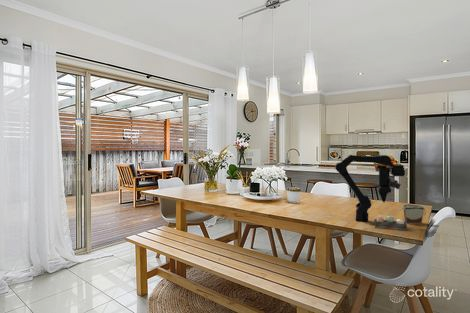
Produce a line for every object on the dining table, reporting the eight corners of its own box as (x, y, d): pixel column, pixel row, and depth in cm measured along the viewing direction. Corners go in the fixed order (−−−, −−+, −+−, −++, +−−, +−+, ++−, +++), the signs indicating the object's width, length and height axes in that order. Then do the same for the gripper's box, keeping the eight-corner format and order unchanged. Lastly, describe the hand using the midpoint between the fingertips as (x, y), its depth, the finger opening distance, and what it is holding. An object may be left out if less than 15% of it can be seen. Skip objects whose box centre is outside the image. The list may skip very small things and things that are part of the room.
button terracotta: (376, 224, 157) (376, 218, 157) (376, 222, 161) (376, 217, 161) (384, 225, 156) (384, 219, 156) (383, 223, 159) (383, 217, 159)
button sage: (386, 222, 155) (386, 216, 155) (385, 220, 159) (386, 215, 159) (394, 223, 154) (394, 217, 154) (393, 221, 157) (393, 216, 157)
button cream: (396, 226, 153) (396, 220, 153) (395, 224, 157) (395, 218, 157) (404, 227, 152) (404, 221, 152) (403, 225, 155) (403, 219, 155)
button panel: (375, 227, 155) (375, 222, 155) (374, 223, 164) (374, 218, 163) (407, 230, 149) (407, 225, 149) (404, 226, 157) (404, 221, 157)
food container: (417, 220, 170) (417, 204, 170) (424, 223, 164) (424, 206, 164) (397, 220, 170) (397, 204, 169) (403, 223, 164) (404, 206, 163)
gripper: (401, 178, 154) (401, 206, 155) (398, 175, 171) (397, 200, 172) (379, 177, 159) (378, 204, 160) (377, 174, 176) (377, 198, 176)
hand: (383, 202), depth 167 cm, fingers closed
